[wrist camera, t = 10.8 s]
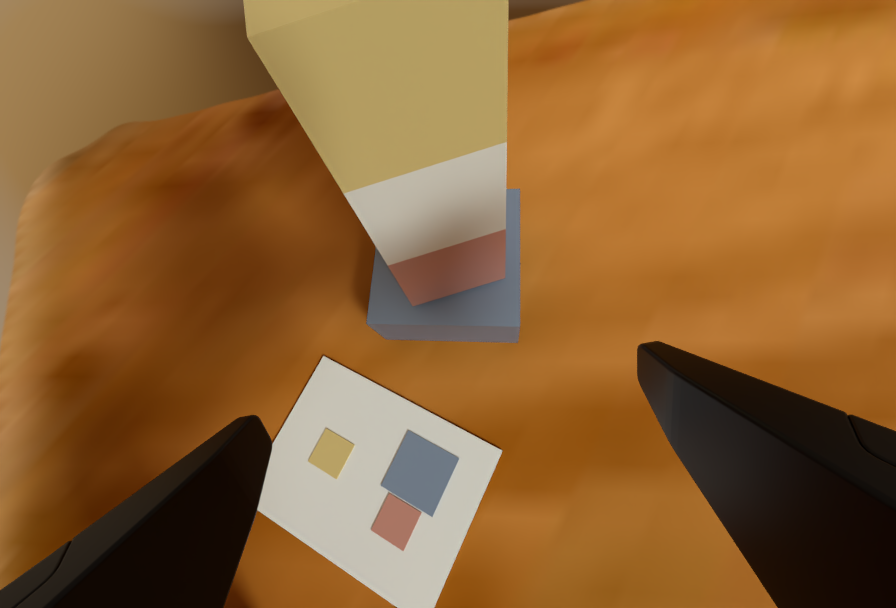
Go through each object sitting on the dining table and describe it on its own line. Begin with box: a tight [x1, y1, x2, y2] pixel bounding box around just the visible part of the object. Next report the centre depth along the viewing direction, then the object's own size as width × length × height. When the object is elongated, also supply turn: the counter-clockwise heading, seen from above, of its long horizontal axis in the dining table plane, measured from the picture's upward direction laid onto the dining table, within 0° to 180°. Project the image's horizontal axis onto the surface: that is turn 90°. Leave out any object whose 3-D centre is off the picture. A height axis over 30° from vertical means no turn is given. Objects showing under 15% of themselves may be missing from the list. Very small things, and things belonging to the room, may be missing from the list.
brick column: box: [243, 0, 508, 306], centre depth 14 cm, size 5×5×14 cm
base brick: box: [366, 189, 520, 343], centre depth 23 cm, size 8×8×4 cm
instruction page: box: [257, 356, 502, 608], centre depth 21 cm, size 12×9×1 cm
